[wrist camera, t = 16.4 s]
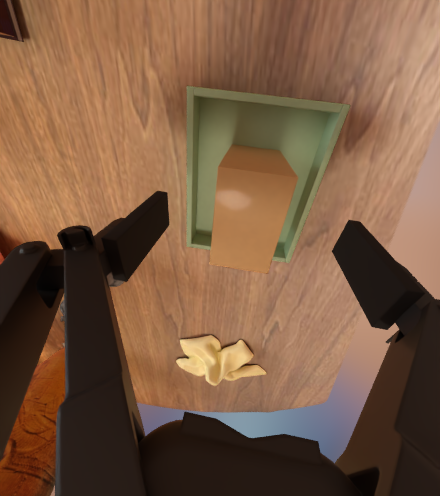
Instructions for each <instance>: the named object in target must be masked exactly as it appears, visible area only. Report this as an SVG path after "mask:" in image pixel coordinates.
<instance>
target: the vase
mask: <svg viewBox="0 0 440 496" xmlns="http://www.w3.org/2000/svg"><path fill="white" fill-rule="evenodd" d="M62 344H63V346H64V347H63V348H62V349H60V350H59V351H57V352H56V353H54V354H53V355H52V356H51V357H50V358H48V359H47V360H46V361H44V362H42V363H41V364H39V365H37V366H36V369H35V371H34V374H33V376H32V379H31V382H30V384H29V387H28V390H27V392H26V395H25V398H24V400H23V403H22V406H21V408H20V411H19V414H18V416H17V419H16V422H15V424H14V427H13V430H12V432H11V435H10V438H9V440H8V443H7V445H6V448H5V451H4V453H3V456H2V459H1V461H0V496H50V495H51V493H52V491H53V488H54V485H55V467H56V420H57V411H58V408H59V405H60V404H61V403H62V402H63V401H64V399H65V343H62Z"/></svg>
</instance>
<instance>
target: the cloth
mask: <svg viewBox="0 0 440 496" xmlns="http://www.w3.org/2000/svg"><path fill="white" fill-rule="evenodd" d="M180 343H181V346H182V349H183V351H184V353H185V354H186V355H187V356H188V357H189V359H186V358H183V359H181V358H180V359H177V360H176V363H177V364H178V365H179V366H180V367H181V368H182V369H184V370H186V371H188V372H190V373H192V374H194V375H196V376H203V375H205V376H206V381H207V382H209V383H210V384H211V385H213V386H216V385H218V384H219V382H220V381H221V380H222V379H223V378H224V379H226V380H229V381H233V380H237V379H239V378H240V377H246V376H256V375H264V374H266V372H265V371H264V370H263V369H262V368H261V367H260V366H258V365H251V366H243V367H241V366H242V365H243V364H245V363H247V362H249V361H250V360H251V359H252V357H253V356H254V355H253V353H252V352H251V351H250V350H249V348H248V347H247V345H246V344H245V343H244V341H243V340H239V341H238V342H237V343H236V344H235V345H232V346H229V347H226V348H224V349H223V350H222V349H221V348H220V342H219V341H218V340H217V339H216V338H215V337H213V336H212V335H209V336H205V337H199V338H193V339H181V340H180Z"/></svg>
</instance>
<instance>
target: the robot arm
mask: <svg viewBox="0 0 440 496" xmlns="http://www.w3.org/2000/svg"><path fill="white" fill-rule="evenodd" d="M168 226H169V212H168V196H167V192H161V191H157V192H155V193H154V194H153V195H152V196H151V197H149V198H148V199H147V200H146V201H145V202H143V203H142V204H141V205H140V206H139V207H137V208H136V209H135V210H134V211H133V212H131V213H130V214H129V215H128V216H127V217H126V218H119V219H117V220H114V221H113V222H111V223H110V224H109V225H108V226H106V227H105V228H104V229H103V230H101V231H100V232H99V233H97V234H96V235H95V236H94V237H93V234H92V231H91V229H90V227H87V226H81V225H79V226H72V227H68V228H65V229H63V230H61V231H60V232H59V233H58V235H57V236H58V239H59V241H60V243H61V245H62V247H63V249H54V250H50V249H49V247H48V245H47V244H46V242H42V241H33V242H26V243H23V244H21V245H19V246H17V247H15V248H14V249H13V250H12V251H11V252H10V253H9V255H8V256H7V257H6V258H5V260H4V261H3V262H2V263H1V265H0V461H1V459H2V456H3V453H4V451H5V448H6V445H7V443H8V440H9V438H10V435H11V432H12V430H13V427H14V424H15V422H16V419H17V416H18V414H19V411H20V408H21V406H22V403H23V400H24V398H25V395H26V392H27V390H28V387H29V384H30V382H31V379H32V376H33V374H34V371H35V369H36V366H37V363H38V361H39V358H40V355H41V353H42V350H43V347H44V345H45V342H46V339H47V337H48V334H49V331H50V329H51V326H52V323H53V321H54V318H55V315H56V313H57V310H58V308H59V305H60V302H61V300H62V297H63V294H64V314H65V399H64V401H63V402H62V403H61V404H60V405H59V408H58V411H57V420H56V467H55V496H440V300H437V299H434V297H432V295H431V294H430V293H429V292H428V291H427V290H426V289H425V288H424V287H423V286H422V285H421V284H420V283H419V282H417V279H416V278H415V277H413V276H412V274H411V273H410V272H409V271H408V270H407V269H406V268H405V267H404V266H402V265H401V264H399V263H398V262H396V261H395V260H394V258H393V257H392V256H391V255H390V254H389V253H388V252H387V251H386V250H385V249H384V247H383V246H382V245H381V244H380V243H379V242H378V241H377V240H376V239H375V238H374V236H373V235H372V234H371V233H370V232H369V231H368V230H367V229H366V228H365V227H364V226H363V224H362V223H361V222H359V221H353V220H348V222H347V224H346V226H345V228H344V230H343V231H342V233H341V235H340V237H339V239H338V241H337V243H336V244H335V246H334V248H333V250H332V252H333V254H334V256H335V258H336V260H337V262H338V264H339V266H340V268H341V269H342V271H343V273H344V275H345V277H346V279H347V281H348V283H349V285H350V287H351V288H352V290H353V292H354V294H355V296H356V298H357V300H358V302H359V304H360V306H361V307H362V309H363V311H364V313H365V315H366V317H367V319H368V321H369V323H370V324H371V326H372V327H375V328H380V329H386V330H388V329H389V328H390V327H391V326H392V325H393V324H394V323H396V325H397V326H398V327H399V330H398V331H397V332H396V333H395V334H394V335H393V336H392V337H391V338H389V339H388V340H387V341H386V343H389V342H391V343H390V346H389V348H388V351H387V353H386V355H385V358H384V360H383V363H382V365H381V367H380V370H379V372H378V374H377V377H376V379H375V381H374V384H373V386H372V389H371V391H370V393H369V396H368V398H367V400H366V403H365V405H364V407H363V410H362V412H361V415H360V417H359V419H358V422H357V424H356V427H355V429H354V431H353V434H352V436H351V438H350V441H349V443H348V445H347V447H346V450H345V451H344V453H343V454H342V455H341V456H340V457H339V459H337V461H336V462H335V464H334V463H333V462H332V461H331V460H329V459H328V458H327V457H325V456H324V455H323V454H321V453H320V449H319V443H318V441H313V440H309V439H305V438H300V437H295V436H291V435H287V434H280V435H273V436H266V437H258V438H248V437H246V436H244V435H243V434H241V433H239V432H237V431H236V430H234V429H233V428H231V427H229V426H228V425H226V424H224V423H222V422H221V421H219V420H218V419H215V418H211V417H206V416H202V415H197V414H193V413H188V412H184V417H183V420H176V421H172V422H169V423H166V424H164V425H162V426H160V427H158V428H157V429H155V430H153V431H152V432H150V433H149V434H148V435H147V436H145V432H144V428H143V424H142V420H141V417H140V413H139V410H138V407H137V403H136V398H135V394H134V390H133V386H132V381H131V377H130V373H129V369H128V364H127V360H126V356H125V351H124V347H123V343H122V339H121V334H120V330H119V326H118V321H117V317H116V313H115V309H114V304H113V300H112V296H111V291H110V287H109V283H108V279H107V276H108V275H109V274H110V272H111V273H112V276H113V279H114V280H119V281H125V282H127V281H128V279H129V278H130V277H131V275H132V274H133V273H134V271H135V270H136V269H137V267H138V266H139V265H140V263H141V262H142V261H143V259H144V258H145V257H146V255H147V254H148V253H149V251H150V250H151V249H152V247H153V246H154V245H155V243H156V242H157V241H158V239H159V238H160V237H161V235H162V234H163V233H164V231H165V230H166V229H167V227H168Z"/></svg>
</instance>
